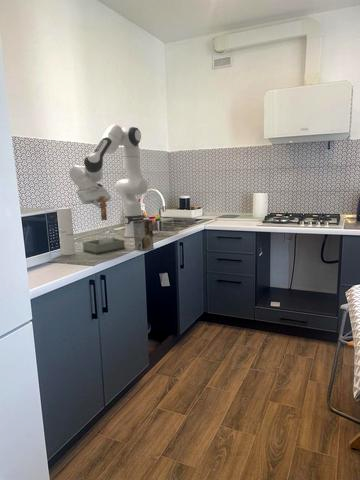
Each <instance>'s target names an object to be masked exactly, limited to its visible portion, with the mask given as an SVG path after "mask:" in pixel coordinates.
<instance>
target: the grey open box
mask: <svg viewBox="0 0 360 480" xmlns="http://www.w3.org/2000/svg"><path fill="white" fill-rule="evenodd" d="M82 247H83V248H82V250H83V252H86V253H90V254H94V255H100V254H105V253H111V252H116V251H121V250H124V249H125V240H124V239H119V238H115V237H114V236H105V237H104V236H103V237H100V238H99V237H98V239H94V240H88V241H87V240H86V241H82Z"/></svg>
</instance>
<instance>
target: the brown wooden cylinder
mask: <svg viewBox="0 0 360 480" xmlns="http://www.w3.org/2000/svg"><path fill="white" fill-rule="evenodd" d="M99 204H101V205H102V207H101V208H100V217H101V218H100V219H101V221H107V220H108V216H107V207H106V204H107V202H106V199H105V196H100V203H99Z"/></svg>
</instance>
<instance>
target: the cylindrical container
mask: <svg viewBox="0 0 360 480" xmlns="http://www.w3.org/2000/svg"><path fill="white" fill-rule="evenodd" d="M56 210H57V218H58V221H57V222H58V230H59V240H60V241H59V242H60V250H61V252H60V253H61V255H62V256H71V255H75V254H76V247H75V246H76V245H75V235H74V226H73V224H74V223H73V215H72V207H59V208H57V209H56Z"/></svg>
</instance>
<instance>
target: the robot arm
mask: <svg viewBox="0 0 360 480" xmlns="http://www.w3.org/2000/svg"><path fill="white" fill-rule="evenodd" d="M141 139H142V132H141V131H140V129H139V128H138V127H136V126H135V127H133V126H131V127H130V126H129V127H127V126H126V127H125V126H124V127H121V126H120V125H117V124H112V125H110V126H109V127H108V128H107V129H106V130H105V132H104V133H103V135H102V137H101V139H100V140H99V141H98V143H97V144H96V146H95V147H94V149H93V150H92V151H91V152H90V153H89V154H87V155H86V156H85V157H84V159H83V164H84V166H82V165H78V164H76V165H73V166H72V167H71V168H70V170H69V174H68V175H69V178H70V180H71V181H72V182H73V183H74V185H75V186H76V187H78V189H77V190H76V195H78V196H77V197H78V198H79V200H80V202H81V203H82V204H84V205H90V204H93V205H94V206H95V207H97V208H98V209H101V207H102V205H101V204H100V196H105V199H106V208H107V207H108V204H107V202H110V200H111V199H112V195H111V193H109V191H108V190H107V189H106V188H105V187H104V185H103V184H101V183H98V182H100V181H101V180H102V179H103V176H104V169H103V167H104V166H103V164H104V156H105V155H106V154H114V153H115V152H117V150H118V148H119V147H120V146H121V147H122V146H123V157H122V158H123V160H122V163H123V165H122V166H123V170H124V172H126V173H127V176H128V178H122V179H119V180H117V181H116V183H115V184H114V185H115V190H116V192H117V194H119V195H120V197H121V199H122V202H123V207H124V225H125V226H124V227H125V228H124V233H123V236H124V238H134V226H133V222H135V221H140V220H145V219H147V214H146V215H145V214H142V204H141V202H140V201H139V200H138V199H137V198H136V196H141V195H144V194H146V193H147V192H148V189H149V184H148V181H147V180H146V179H145V178H144V176H143V174H142V171H141V150H140V145H139V143H140V142H141ZM153 235H156V231H153Z"/></svg>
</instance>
